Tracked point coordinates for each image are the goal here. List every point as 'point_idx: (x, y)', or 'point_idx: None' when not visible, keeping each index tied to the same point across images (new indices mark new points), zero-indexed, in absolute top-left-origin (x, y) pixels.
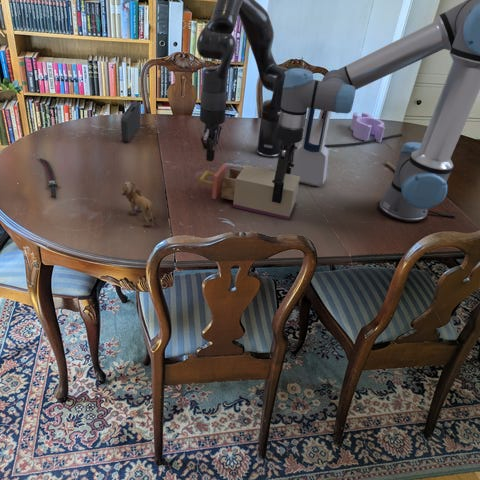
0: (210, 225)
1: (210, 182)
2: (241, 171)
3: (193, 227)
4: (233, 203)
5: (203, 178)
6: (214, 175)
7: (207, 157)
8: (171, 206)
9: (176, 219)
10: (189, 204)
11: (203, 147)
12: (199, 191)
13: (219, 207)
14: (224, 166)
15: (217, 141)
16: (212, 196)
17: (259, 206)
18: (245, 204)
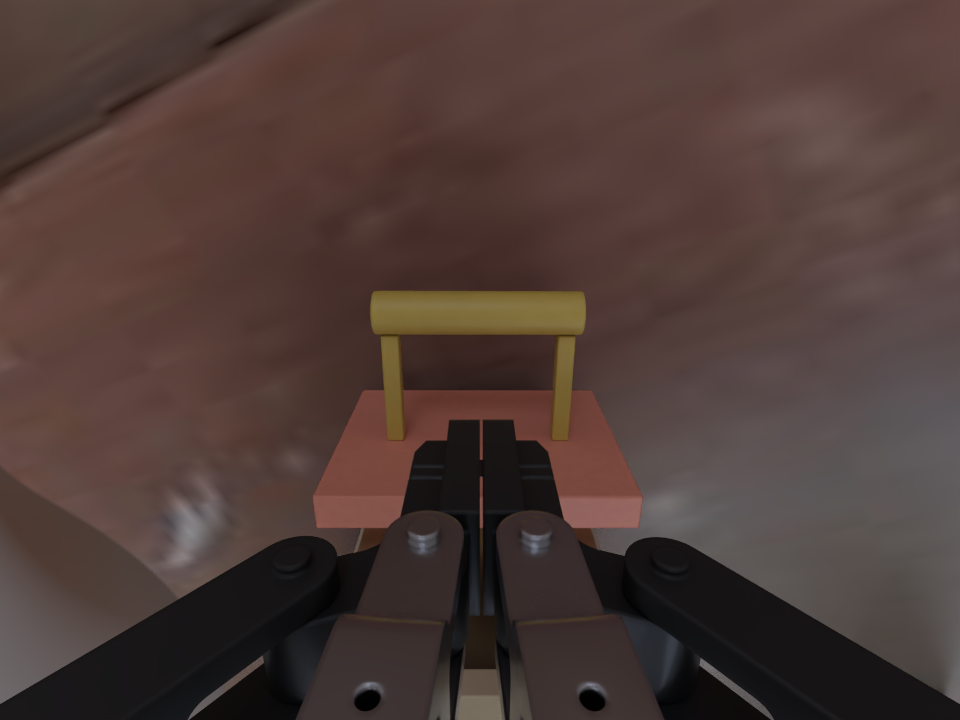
0: (93, 458)
1: (385, 405)
2: (479, 700)
3: (3, 380)
4: (361, 529)
5: (414, 332)
6: (326, 499)
7: (415, 466)
8: (143, 133)
9: (8, 245)
10: (251, 250)
11: (218, 576)
12: (480, 246)
13: (325, 441)
14: (583, 520)
15: (663, 713)
16: (360, 398)
17: None
18: None
